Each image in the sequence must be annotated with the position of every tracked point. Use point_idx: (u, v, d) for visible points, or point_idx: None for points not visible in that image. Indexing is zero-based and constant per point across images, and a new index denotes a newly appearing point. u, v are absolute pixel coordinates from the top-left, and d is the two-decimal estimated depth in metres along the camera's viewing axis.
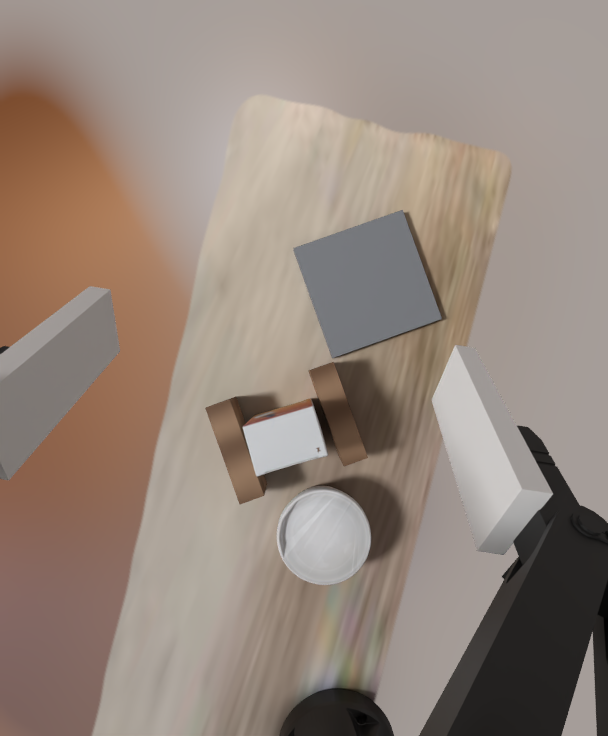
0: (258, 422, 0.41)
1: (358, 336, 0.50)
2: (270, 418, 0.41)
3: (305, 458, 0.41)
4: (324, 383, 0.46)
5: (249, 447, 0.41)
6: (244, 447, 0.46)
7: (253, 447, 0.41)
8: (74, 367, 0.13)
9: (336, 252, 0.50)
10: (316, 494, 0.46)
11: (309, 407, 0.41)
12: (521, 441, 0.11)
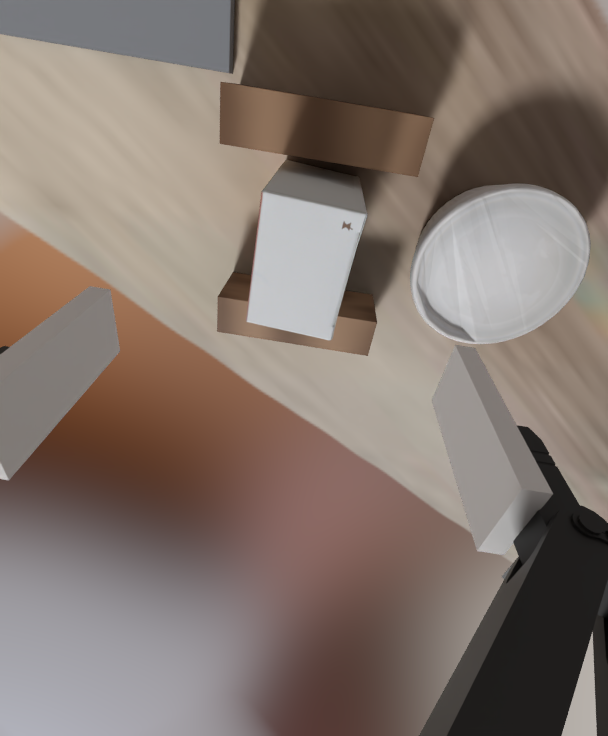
0: (250, 297, 0.23)
1: None
2: (252, 275, 0.22)
3: (348, 256, 0.21)
4: (254, 126, 0.23)
5: (282, 328, 0.24)
6: None
7: (285, 324, 0.24)
8: (74, 367, 0.13)
9: None
10: (427, 249, 0.26)
11: (262, 199, 0.20)
12: (521, 441, 0.11)
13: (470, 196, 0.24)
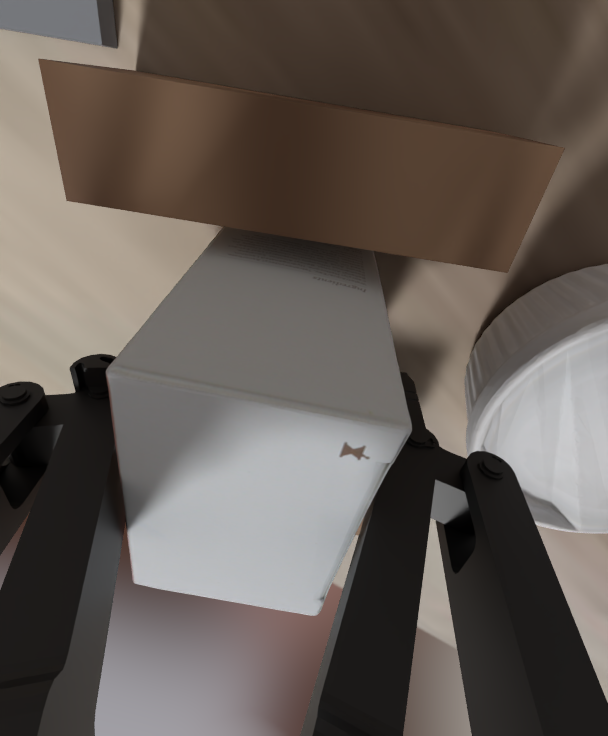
0: (131, 551, 0.10)
1: None
2: None
3: (356, 503, 0.08)
4: (137, 165, 0.10)
5: (211, 597, 0.11)
6: None
7: (218, 593, 0.11)
8: None
9: None
10: (508, 398, 0.13)
11: (111, 388, 0.07)
12: None
13: None
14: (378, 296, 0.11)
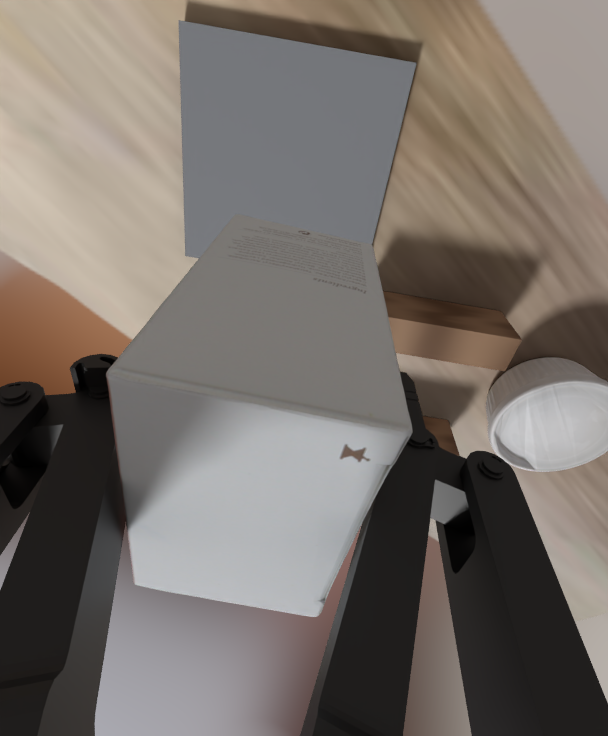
0: (132, 552, 0.10)
1: (355, 235, 0.31)
2: None
3: (357, 504, 0.08)
4: None
5: (212, 598, 0.11)
6: None
7: (218, 594, 0.11)
8: None
9: (214, 197, 0.30)
10: (505, 412, 0.34)
11: (112, 391, 0.07)
12: None
13: (542, 381, 0.33)
14: (378, 297, 0.11)
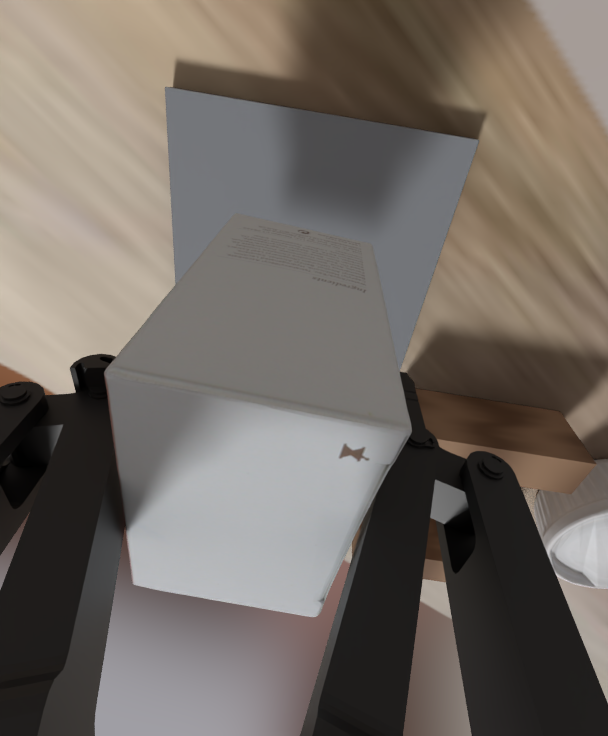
0: (130, 552, 0.10)
1: None
2: None
3: (356, 504, 0.08)
4: None
5: (211, 598, 0.11)
6: (431, 561, 0.32)
7: (217, 594, 0.11)
8: None
9: None
10: (566, 532, 0.29)
11: (110, 390, 0.07)
12: None
13: None
14: (378, 296, 0.11)
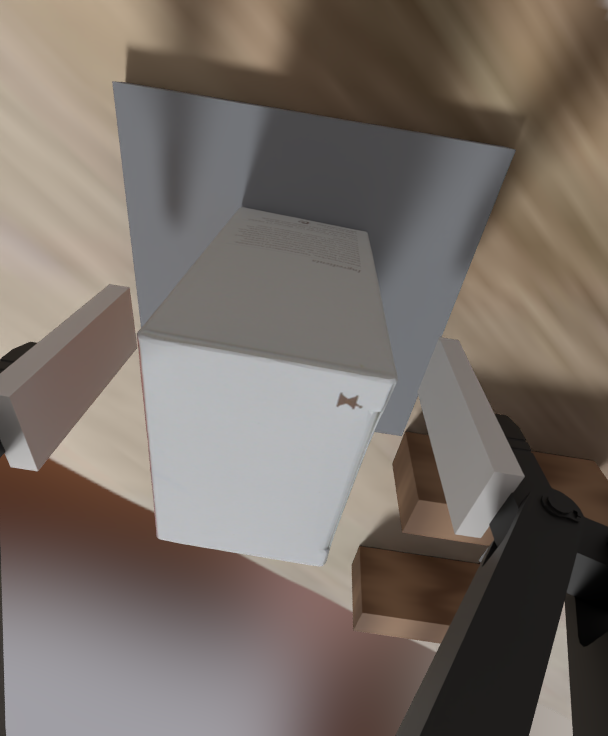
0: (156, 506, 0.11)
1: None
2: None
3: (353, 451, 0.09)
4: (445, 526, 0.21)
5: (227, 550, 0.12)
6: (443, 626, 0.28)
7: (233, 545, 0.12)
8: (96, 362, 0.13)
9: None
10: None
11: (141, 350, 0.08)
12: (497, 427, 0.11)
13: None
14: (371, 276, 0.12)
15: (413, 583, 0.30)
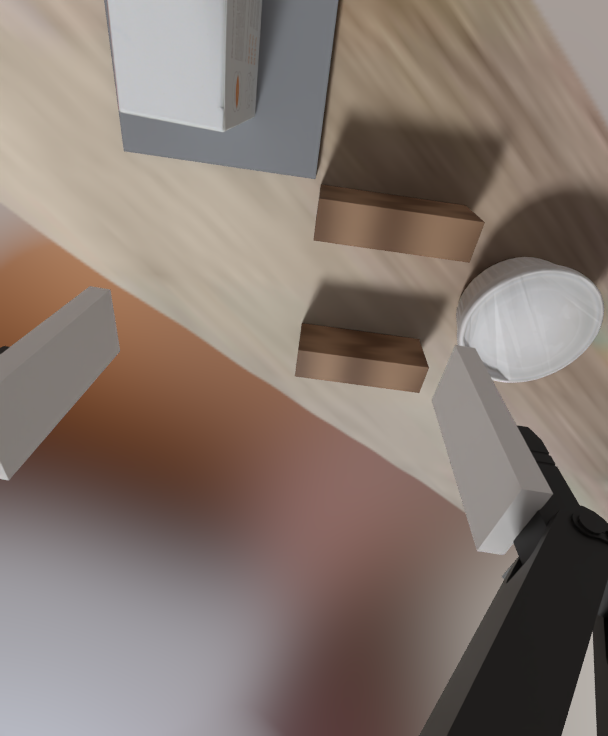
0: (115, 69, 0.19)
1: (303, 115, 0.28)
2: (111, 34, 0.18)
3: None
4: (342, 228, 0.29)
5: (162, 117, 0.20)
6: (362, 360, 0.36)
7: (165, 109, 0.20)
8: (74, 367, 0.13)
9: None
10: (473, 313, 0.32)
11: None
12: (521, 441, 0.11)
13: (509, 274, 0.31)
14: None
15: (342, 340, 0.38)
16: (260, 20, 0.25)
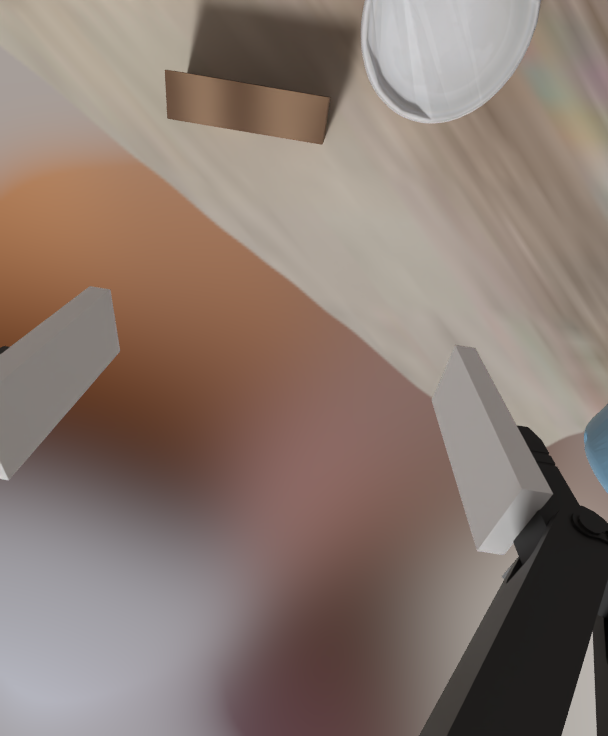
0: None
1: None
2: None
3: None
4: None
5: None
6: (246, 87, 0.28)
7: None
8: (74, 367, 0.13)
9: None
10: None
11: None
12: (521, 441, 0.11)
13: None
14: None
15: None
16: None
